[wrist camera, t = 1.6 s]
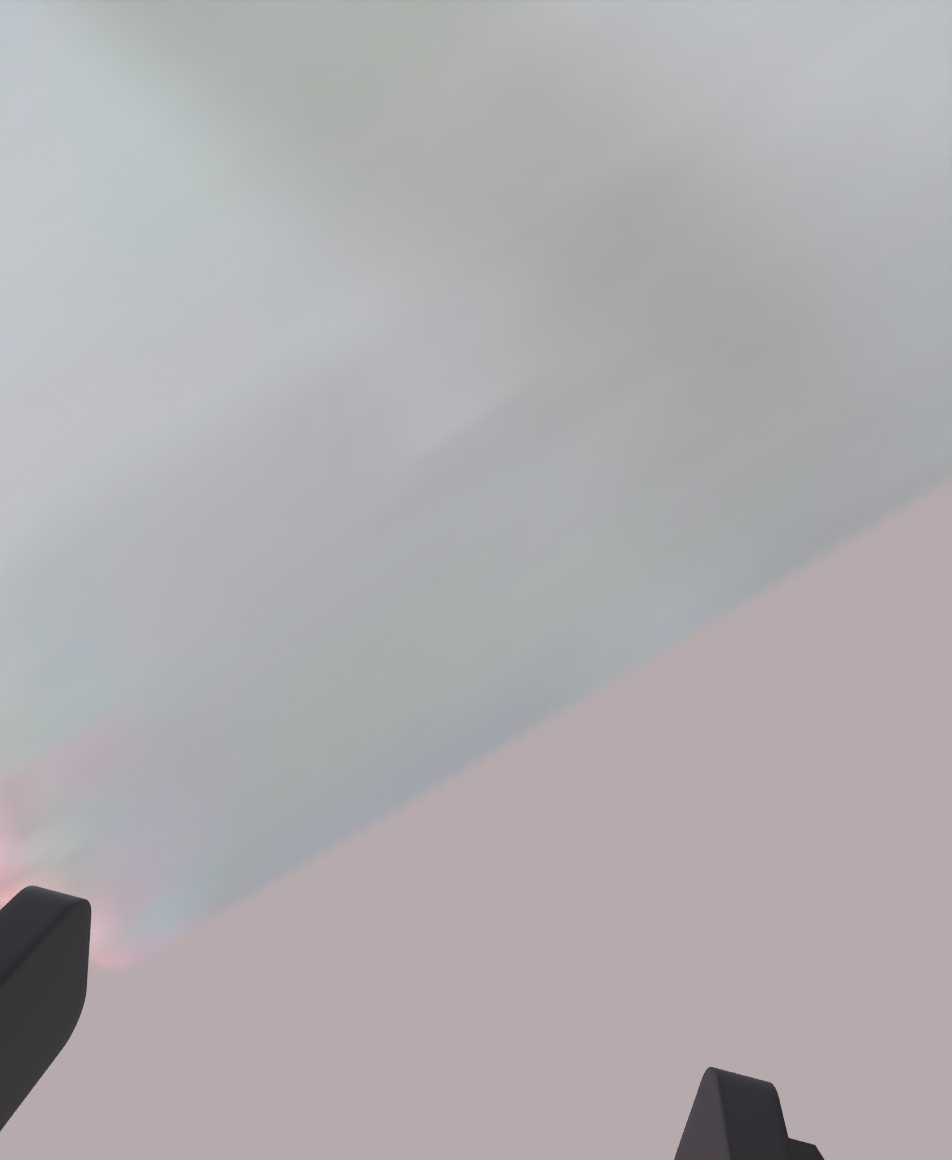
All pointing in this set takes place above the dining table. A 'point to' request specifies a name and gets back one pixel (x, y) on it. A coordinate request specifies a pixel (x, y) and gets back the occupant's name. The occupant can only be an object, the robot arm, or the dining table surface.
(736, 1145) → the robot arm
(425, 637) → the dining table surface
